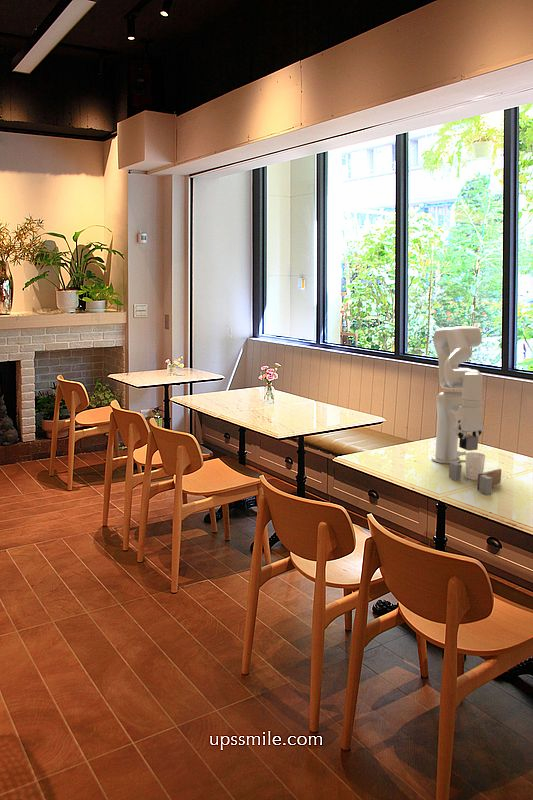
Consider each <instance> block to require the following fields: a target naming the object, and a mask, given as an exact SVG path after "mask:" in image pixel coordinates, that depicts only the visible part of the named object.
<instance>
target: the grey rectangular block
mask: <svg viewBox="0 0 533 800" xmlns="http://www.w3.org/2000/svg"><path fill="white" fill-rule="evenodd" d="M465 439H466V449H464V451H477V450H478V448H479V447H478V446H479V444H478V443H479V438H478V437H475V436H473V435H472V434H469V433H468V434H467V433H466V437H465ZM458 447H459V448H460V440H458Z"/></svg>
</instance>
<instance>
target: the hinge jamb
mask: <svg viewBox="0 0 533 800" xmlns="http://www.w3.org/2000/svg"><path fill="white" fill-rule="evenodd" d="M492 488H493V486H492V478H491V477H488V476H486V475H481V476H480V482H479V490H478V492H479V493H482V494H483V495H486V496H487V495H489V496H490V495H492Z"/></svg>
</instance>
